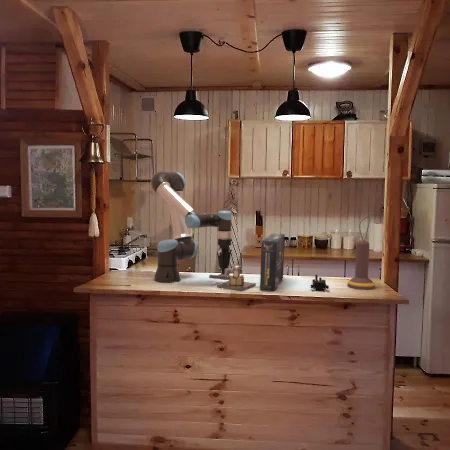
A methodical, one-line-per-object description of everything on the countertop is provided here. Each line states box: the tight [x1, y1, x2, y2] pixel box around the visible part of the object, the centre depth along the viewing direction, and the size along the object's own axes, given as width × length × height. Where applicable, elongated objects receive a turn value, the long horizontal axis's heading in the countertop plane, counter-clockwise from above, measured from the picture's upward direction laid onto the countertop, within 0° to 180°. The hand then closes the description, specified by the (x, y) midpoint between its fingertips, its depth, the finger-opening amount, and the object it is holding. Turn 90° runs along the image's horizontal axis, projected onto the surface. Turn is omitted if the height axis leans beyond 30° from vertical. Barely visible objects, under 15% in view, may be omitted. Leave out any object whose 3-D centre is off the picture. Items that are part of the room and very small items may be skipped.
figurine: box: [217, 265, 233, 277], centre depth 295 cm, size 12×9×15 cm
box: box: [259, 233, 286, 292], centre depth 274 cm, size 35×9×28 cm, turn 166°
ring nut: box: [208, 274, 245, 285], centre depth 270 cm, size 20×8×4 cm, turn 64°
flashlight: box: [347, 216, 376, 291], centre depth 271 cm, size 15×40×15 cm
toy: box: [310, 274, 330, 293], centre depth 274 cm, size 10×5×30 cm
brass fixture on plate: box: [216, 264, 257, 292], centre depth 267 cm, size 16×16×12 cm
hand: (224, 279), depth 273 cm, fingers closed
